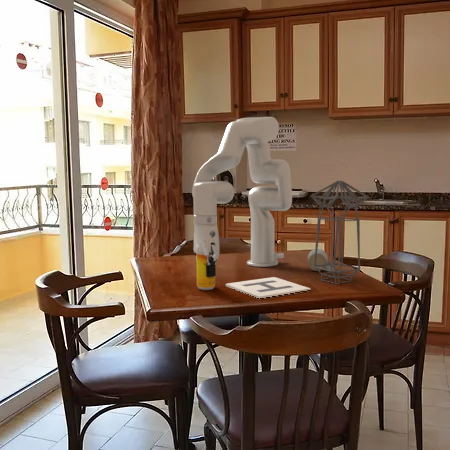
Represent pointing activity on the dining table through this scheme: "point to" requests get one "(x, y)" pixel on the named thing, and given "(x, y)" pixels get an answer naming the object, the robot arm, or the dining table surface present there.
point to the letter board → (267, 287)
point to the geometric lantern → (338, 226)
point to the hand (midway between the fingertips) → (205, 274)
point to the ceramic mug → (319, 260)
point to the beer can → (203, 270)
